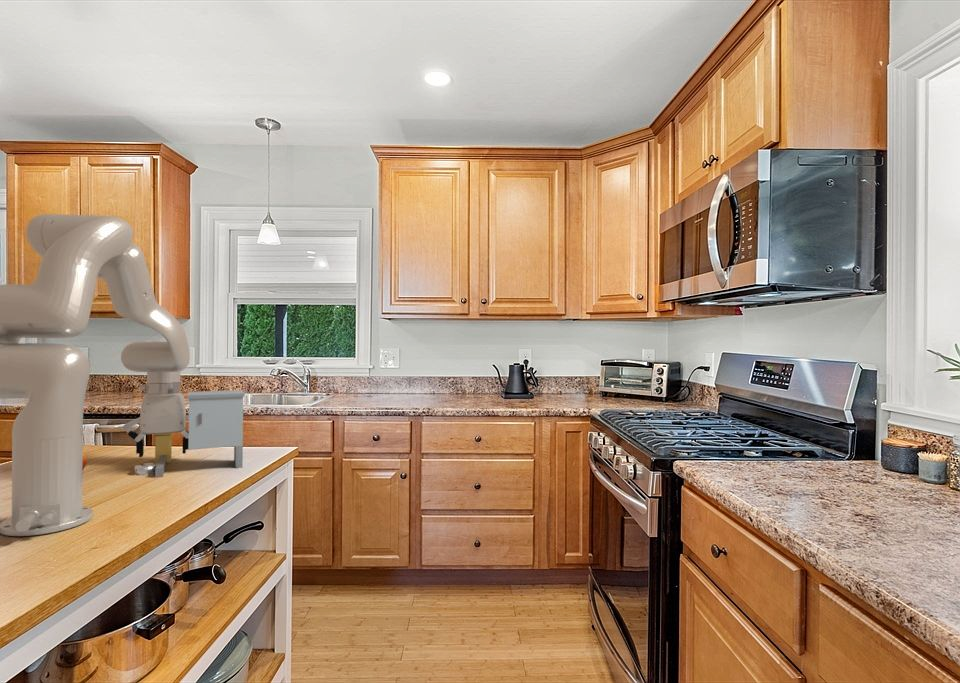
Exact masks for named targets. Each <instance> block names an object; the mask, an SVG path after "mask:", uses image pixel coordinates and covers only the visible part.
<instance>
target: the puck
mask: <svg viewBox="0 0 960 683" xmlns="http://www.w3.org/2000/svg"><path fill="white" fill-rule="evenodd" d="M156 465H157V463H155V462H148V463H147V462H145V463H140V464H139V463H138V464H136V465H134V475H135V474H136V475H135V476H147V475H146V474H149V475H153V474H155V469H156ZM152 473H153V474H152Z"/></svg>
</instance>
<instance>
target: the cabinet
mask: <svg viewBox="0 0 960 683" xmlns="http://www.w3.org/2000/svg"><path fill="white" fill-rule="evenodd" d="M187 392H188V393H187V400H188V415H189V421H188V431H189V444H188V451H191V450H192V451H193V450H195V451H196V450H203V449H204V450H205V449H217V448H232V447H233V453H234V454H233V462H235V463H234V466H235V468H236V469H238V468H237V467H241V468H243V460H244V459H243V458H244V456H243V454H244V453H243V451H244V450H243V449H244V442H243V441H244V440H243V438H244V397H245V396H246V393H245V392H244V390H243V389H238V390H237V389H236V390H231V389H230V390H207V391H205V390H203V391H187Z"/></svg>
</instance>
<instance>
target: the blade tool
mask: <svg viewBox="0 0 960 683" xmlns="http://www.w3.org/2000/svg"><path fill="white" fill-rule="evenodd" d="M172 435H173V433H164V434H155V436H154V437H155V438H154V440H155V441H154V443H155V444H154V447H155V448H154V456H155V457H154V463H156V464H157V465H156V469H155V473H154V475H155V476H154V478H163V477H164V474H165V470H166V465H167V463H171V462H172V453H173V452H172V444H173V441H172V440H173V439H172V438H173V437H172ZM170 461H171V462H170Z"/></svg>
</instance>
